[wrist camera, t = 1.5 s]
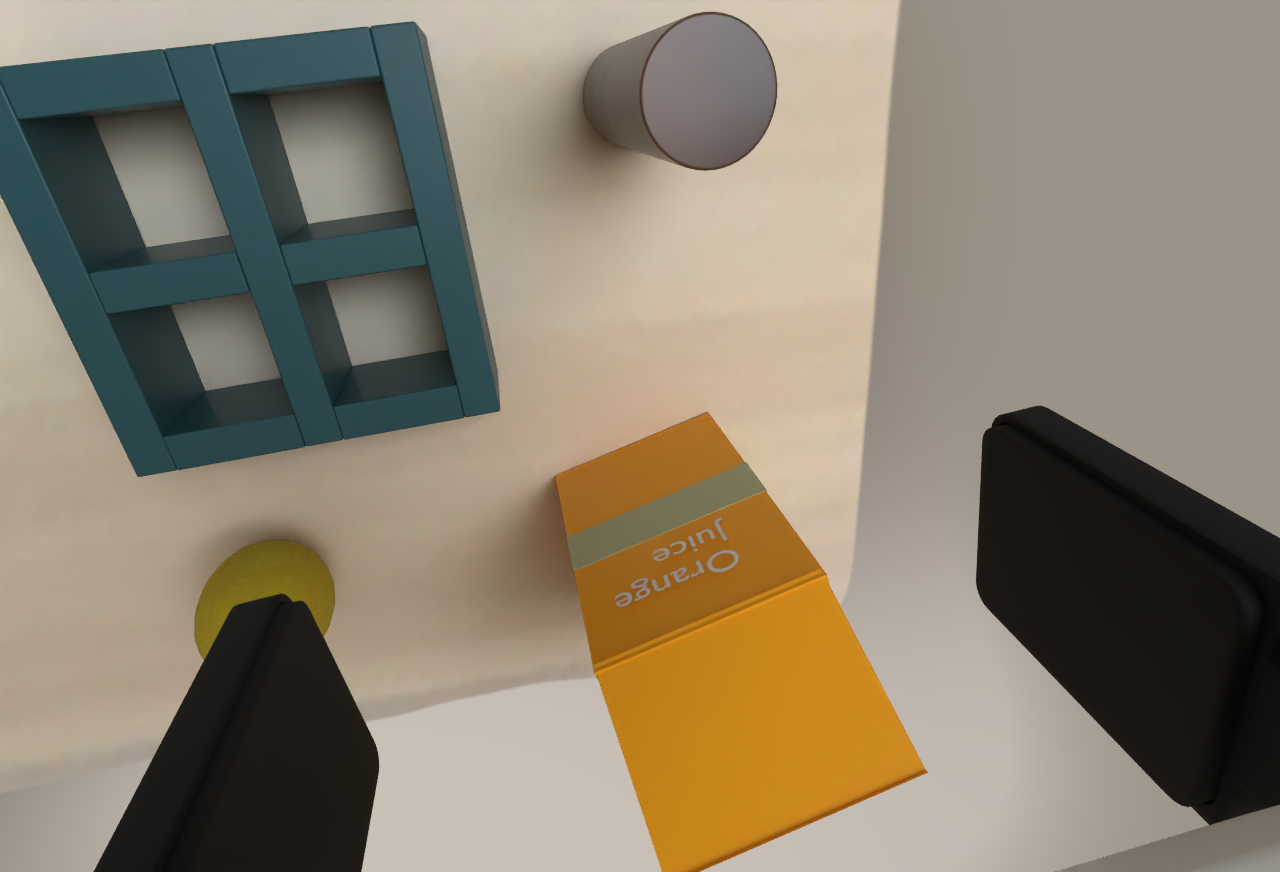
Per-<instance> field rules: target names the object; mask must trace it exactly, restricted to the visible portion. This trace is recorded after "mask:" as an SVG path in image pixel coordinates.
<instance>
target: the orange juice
mask: <svg viewBox="0 0 1280 872" xmlns="http://www.w3.org/2000/svg"><path fill="white" fill-rule="evenodd" d="M555 477H556V482H557V487H558V492H559V497H560V502H561V507H562V512H563V518H564V523H565V528H566V533H567V537H566V538H567V543H568V548H569V554H570V559H571V564H572V569H573V572H574V574H575V578H576V583H577V588H578V593H579V598H580V603H581V608H582V613H583V618H584V623H585V628H586V633H587V638H588V643H589V648H590V653H591V658H592V663H593V668H594V673H595V675H596V677H597V679H598V681H599V684H600V686H601V689H602V692H603V695H604V699H605V701H606V704H607V707H608V710H609V713H610V716H611V720H612V723H613V725H614V728H615V731H616V734H617V737H618V740H619V743H620V746H621V749H622V752H623V755H624V758H625V761H626V764H627V767H628V770H629V773H630V776H631V779H632V782H633V785H634V788H635V791H636V794H637V797H638V800H639V803H640V806H641V809H642V812H643V815H644V818H645V821H646V824H647V827H648V830H649V833H650V836H651V839H652V842H653V845H654V848H655V851H656V854H657V857H658V860H659V863H660V866H661V869H662V872H700V871H702V870H704V869H707V868H709V867H711V866H713V865H716V864H718V863H720V862H723V861H725V860H727V859H730V858H732V857H734V856H736V855H739V854H741V853H743V852H746V851H748V850H750V849H753V848H755V847H757V846H760V845H762V844H764V843H767V842H768V841H771V840H773V839H775V838H778V837H780V836H783V835H785V834H787V833H790V832H792V831H794V830H796V829H799V828H801V827H803V826H806V825H808V824H810V823H813V822H815V821H817V820H819V819H822V818H824V817H826V816H829V815H831V814H833V813H836V812H838V811H840V810H843V809H845V808H847V807H849V806H852V805H854V804H856V803H859V802H861V801H863V800H866V799H868V798H870V797H872V796H875V795H877V794H879V793H882V792H884V791H886V790H889V789H891V788H893V787H895V786H898V785H900V784H902V783H905V782H907V781H909V780H912V779H914V778H916V777H919V776H921V775H923V774H925V773H928V772H927V771H926V770H925V768H924V766H923V764H922V762H921V760H920V758H919V756H918V754H917V752H916V750H915V748H914V746H913V745H912V743H911V741H910V739H909V737H908V735H907V733H906V731H905V729H904V727H903V725H902V723H901V722H900V720H899V718H898V716H897V714H896V712H895V710H894V708H893V706H892V704H891V702H890V700H889V699H888V697H887V695H886V693H885V691H884V689H883V687H882V685H881V683H880V682H879V679H878V677H877V676H876V674H875V672H874V670H873V668H872V666H871V664H870V662H869V660H868V658H867V657H866V655H865V653H864V651H863V649H862V647H861V645H860V643H859V641H858V639H857V637H856V635H855V633H854V632H853V630H852V628H851V626H850V624H849V622H848V620H847V618H846V616H845V614H844V612H843V610H842V609H841V607H840V605H839V603H838V601H837V599H836V597H835V595H834V593H833V591H832V589H831V587H830V585H829V581H828V578H827V574H826V573H825V572H824V570H823V569H822V567H821V566H820V565H819V563H818V562H817V561H816V559H815V558H814V557H813V555H812V554H811V552H810V551H809V550H808V548H807V547H806V546H805V544H804V543H803V541H802V540H801V539H800V537H799V536H798V535H797V533H796V532H795V530H794V529H793V528H792V526H791V525H790V524H789V522H788V521H787V520H786V518H785V517H784V515H783V514H782V513H781V511H780V510H779V509H778V507H777V506H776V504H775V503H774V502H773V500H772V499H771V498H770V496H769V495H768V493H767V491H766V489H765V487H764V486H763V485H762V483H761V482H760V480H759V479H758V478H757V476H756V475H755V474H754V472H753V471H752V470H751V468H750V467H749V465H748V464H747V463H746V462H744V461H743V459H742V458H741V456H740V455H739V454H738V452H737V451H736V450H735V448H734V447H733V445H732V444H731V443H730V441H729V440H728V439H727V437H726V436H725V434H724V433H723V432H722V430H721V429H720V428H719V426H718V425H717V424H716V422H715V421H714V419H713V418H712V417H711V415H710V414H709V413H708V412H707V413H704V414H702V415H700V416H697V417H695V418H692V419H690V420H688V421H685V422H683V423H680V424H678V425H676V426H673V427H671V428H668V429H666V430H664V431H661V432H659V433H656V434H654V435H652V436H649V437H647V438H644V439H642V440H640V441H637V442H635V443H632V444H630V445H628V446H625V447H623V448H620V449H618V450H616V451H613V452H611V453H608V454H606V455H604V456H601V457H599V458H596V459H594V460H592V461H589V462H587V463H584V464H582V465H580V466H577V467H575V468H572V469H570V470H568V471H565V472H563V473H560V474H558V475H556V476H555Z"/></svg>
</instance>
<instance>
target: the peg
mask: <svg viewBox="0 0 1280 872" xmlns="http://www.w3.org/2000/svg"><path fill="white" fill-rule="evenodd" d="M583 97H584V105H585V110H586V113H587V116H588V118H589V120H590V122H591V124H592V125H593V127H594V128H595V130H596V131H597V132H598V133H599V134H600V135H601V136H602V137H603V138H605V139H606V140H608V141H610V142H611V143H614V144H616V145H619V146H622V147H625V148H628V149H631V150H634V151H637V152H640V153H644V154H647V155H650V156H653V157H656V158H659V159H662V160H665V161H668V162H671V163H674V164H677V165H680V166H683V167H686V168H690V169H695V170H704V171H707V170H716V169H721V168H724V167H727V166H730V165H732V164H734V163H736V162H738V161H739V160H741V159H742V158H743V157H745V156H746V155H747V154H748V153H750V152H751V151H752V150H753V149H754V148H755V146H756V145H757V144H758V143H759V142H760V140H761V139H762V137H763V136H764V134H765V132H766V131H767V129H768V127H769V125H770V122H771V119H772V117H773V113H774V109H775V105H776V98H777V78H776V71H775V66H774V63H773V60H772V57H771V54H770V52H769V50H768V48H767V46H766V45H765V43H764V41H763V40H762V38H761V37H760V36H759V35H758V34H757V32H756V31H755V30H754V29H752V28H751V27H750V26H749V25H748V24H746V23H745V22H743V21H742V20H740V19H738V18H736V17H734V16H732V15H728V14H725V13H719V12H702V13H697V14H693V15H690V16H687V17H685V18H682V19H680V20H677V21H675V22H672V23H670V24H667V25H665V26H662V27H660V28H657V29H655V30H652V31H650V32H647V33H645V34H642V35H640V36H637V37H635V38H632V39H630V40H627V41H625V42H622V43H620V44H617V45H615V46H612V47H610V48H609V49H607V50H605V51H604V52H603V53H601V54H600V55H599V56H598V57H597V58H596V60H595V61H594V62H593V64H592V65H591V67H590V69H589V71H588V73H587V76H586V79H585V84H584V93H583Z"/></svg>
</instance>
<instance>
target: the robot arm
mask: <svg viewBox="0 0 1280 872" xmlns="http://www.w3.org/2000/svg"><path fill="white" fill-rule="evenodd" d="M980 485H981V486H980V506H979V528H978V550H977V572H976V585H977V590H978V593H979V595H980V598H981V600H982V601H983V603H984V605H985V606H986V607H987V608H988V609H989V610H990V611H991V613H992V614H993V615H994V616H995V617H996V618H997V619H998V620H999V621H1000V622H1001V623H1002V624H1003V625H1004V626H1005V627H1006V628H1007V629H1008V630H1009V631H1010V632H1011V633H1012V634H1013V635H1014V636H1015V637H1016V638H1017V639H1018V641H1020V643H1021V644H1022V645H1023V646H1024V647H1025V648H1026V649H1027V650H1028V651H1029V652H1030V653H1031V654H1032V655H1033V656H1034V657H1035V658H1036V659H1037V660H1038V661H1039V662H1040V663H1041V664H1042V665H1043V667H1045V668H1046V670H1047V671H1048V672H1049V673H1050V674H1051V675H1052V676H1053V677H1054V678H1055V679H1056V680H1057V681H1058V682H1059V683H1060V684H1061V685H1062V686H1063V687H1064V688H1065V689H1066V690H1067V691H1068V692H1069V693H1070V695H1072V696H1073V698H1074V699H1075V700H1076V701H1077V702H1078V703H1079V704H1080V705H1081V706H1082V707H1083V708H1084V709H1085V710H1086V711H1087V712H1088V713H1089V714H1090V715H1091V716H1092V717H1093V718H1094V719H1095V720H1096V721H1097V722H1098V724H1099V725H1100V726H1102V728H1103V729H1104V730H1105V731H1106V732H1107V733H1108V734H1109V735H1110V736H1111V737H1112V738H1113V739H1114V740H1115V741H1116V742H1117V743H1118V744H1119V745H1120V746H1121V747H1122V748H1123V749H1124V751H1126V753H1127V754H1128V755H1129V756H1130V757H1131V758H1132V759H1133V760H1134V761H1135V762H1136V763H1137V764H1138V765H1139V766H1140V767H1141V768H1142V769H1143V770H1144V771H1145V772H1146V773H1147V774H1148V775H1149V776H1150V778H1152V780H1154V782H1155V783H1156V784H1157V785H1158V786H1159V787H1160V788H1161V789H1162V790H1163V791H1164V792H1165V793H1166V794H1167V795H1168V796H1169V797H1170V798H1171V799H1172V800H1174V801H1175V802H1177V803H1178V804H1180V805H1182V806H1186V807H1190V806H1191V807H1192V808H1193V809H1194V810H1195V811H1196V812H1197V813H1198V814H1199V815H1200V816H1201V817H1202V818H1203V819H1204V820H1205V821H1206V822H1207V823H1208V824H1209V826H1206V827H1202V828H1199V829H1196V830H1192V831H1189V832H1186V833H1182V834H1179V835H1176V836H1172V837H1169V838H1166V839H1162V840H1159V841H1156V842H1152V843H1149V844H1146V845H1143V846H1139V847H1136V848H1133V849H1129V850H1126V851H1123V852H1119V853H1116V854H1112V855H1109V856H1106V857H1102V858H1099V859H1096V860H1093V861H1089V862H1086V863H1083V864H1079V865H1076V866H1073V867H1069V868H1066V869H1063V870H1060V871H1056V872H1280V538H1279V537H1277V536H1275V535H1273V534H1272V533H1270V532H1268V531H1266V530H1264V529H1263V528H1261V527H1259V526H1257V525H1255V524H1254V523H1252V522H1250V521H1248V520H1247V519H1245V518H1243V517H1241V516H1239V515H1238V514H1236V513H1234V512H1232V511H1231V510H1229V509H1226V508H1225V507H1223V506H1222V505H1220V504H1218V503H1216V502H1214V501H1213V500H1211V499H1209V498H1207V497H1206V496H1203V495H1202V494H1200V493H1198V492H1197V491H1194V490H1193V489H1191V488H1189V487H1187V486H1186V485H1184V484H1182V483H1180V482H1179V481H1177V480H1175V479H1173V478H1172V477H1170V476H1168V475H1166V474H1164V473H1163V472H1161V471H1159V470H1157V469H1155V468H1154V467H1152V466H1150V465H1148V464H1147V463H1145V462H1143V461H1141V460H1139V459H1137V458H1136V457H1134V456H1132V455H1130V454H1129V453H1127V452H1125V451H1123V450H1122V449H1120V448H1118V447H1116V446H1114V445H1113V444H1110V443H1109V442H1107V441H1106V440H1104V439H1102V438H1100V437H1098V436H1097V435H1095V434H1093V433H1091V432H1089V431H1088V430H1086V429H1084V428H1082V427H1080V426H1079V425H1077V424H1075V423H1073V422H1072V421H1070V420H1068V419H1066V418H1064V417H1063V416H1061V415H1059V414H1057V413H1056V412H1054V411H1052V410H1050V409H1048V408H1046V407H1043V406H1034V407H1030V408H1027V409H1022V410H1018V411H1014V412H1010V413H1006V414H1002V415H999V416H998V417H997V418H995V420H994V422H993V423H992V427H991V428H989V429H988V430H986V431H985V433H984V435H983V441H982V462H981V484H980ZM378 773H379V757H378V751H377V747H376V744H375V742H374V740H373V738H372V736H371V734H370V731H369V730H368V727H367V725H366V723H365V721H364V719H363V717H362V715H361V713H360V711H359V709H358V707H357V705H356V703H355V701H354V699H353V697H352V695H351V693H350V691H349V689H348V686H347V684H346V682H345V680H344V678H343V676H342V674H341V672H340V670H339V668H338V666H337V664H336V662H335V660H334V658H333V656H332V654H331V652H330V650H329V648H328V646H327V643H326V641H325V639H324V637H323V635H322V633H321V631H320V629H319V627H318V625H317V623H316V621H315V619H314V617H313V615H312V613H311V611H310V609H309V607H308V606H307V604H306V603H305V602H304V601H300V600H299V601H295V602H293V601H292V600H291V598H289V597H288V596H287V595H286V594H282V593H281V594H277V595H273V596H269V597H265V598H261V599H257V600H253V601H249V602H245V603H241V604H238V605H235V606H234V607H233V608H232V609H231V610H230V612H229V614H228V616H227V618H226V620H225V621H224V623H223V625H222V627H221V629H220V631H219V633H218V635H217V637H216V639H215V641H214V643H213V644H212V646H211V648H210V650H209V652H208V654H207V656H206V658H205V660H204V662H203V664H202V665H201V667H200V669H199V671H198V673H197V675H196V677H195V679H194V681H193V683H192V685H191V687H190V688H189V690H188V692H187V694H186V696H185V698H184V700H183V702H182V704H181V706H180V708H179V710H178V711H177V713H176V715H175V717H174V719H173V721H172V723H171V725H170V727H169V729H168V731H167V732H166V734H165V736H164V738H163V740H162V742H161V744H160V746H159V748H158V750H157V752H156V754H155V755H154V757H153V759H152V761H151V763H150V765H149V767H148V769H147V771H146V773H145V775H144V776H143V778H142V780H141V782H140V784H139V786H138V788H137V790H136V792H135V794H134V796H133V798H132V799H131V801H130V803H129V805H128V807H127V809H126V811H125V813H124V815H123V817H122V819H121V820H120V822H119V824H118V826H117V828H116V830H115V832H114V834H113V836H112V838H111V840H110V842H109V844H108V846H107V847H106V849H105V851H104V853H103V855H102V857H101V859H100V861H99V863H98V864H97V867H96V868H95V870H94V872H361V870H362V865H363V859H364V853H365V848H366V842H367V836H368V831H369V825H370V819H371V814H372V808H373V801H374V796H375V790H376V785H377V779H378Z"/></svg>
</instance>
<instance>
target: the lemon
mask: <svg viewBox="0 0 1280 872" xmlns="http://www.w3.org/2000/svg"><path fill="white" fill-rule="evenodd" d="M281 593H282V594H286V595H287V596H288V597H289V598H291V600H292V601H293V602H295V601H299V600H300V601H304V602H305V603H306V604H307V606H308V607H309V609H310V611H311V613H312V615H313V617H314V619H315V621H316V623H317V625H318V627H319V629H320V631H321V633H322V635H323V637H324V635H325V633H326V631H327V629H328V627H329V625H330V621H331V618H332V614H333V610H334V605H335V592H334V582H333V579H332V577H331V574H330V572H329V569H328V567H327V566H326V564H325V563H324V562H323V561H322V559H321V558H320V557H319V556H318V555H317V554H316V553H314V552H313V551H312V550H310V549H309V548H307V547H305V546H302V545H300V544H298V543H294V542H290V541H286V540H269V541H263V542H258V543H254V544H252V545H249V546H247V547H244V548H242V549H240V550H239V551H237V552H236V553H234V554H233V555H232V556H230V557H229V558H227V559H226V560H225V561H224V562H223V563H222V564H221V565H220V566H219V567H218V568H217V570H216V571H215V572H214V573H213V575H212V576H211V577H210V578H209V580H208V581H207V583H206V584H205V587H204V589H203V591H202V594H201V597H200V599H199V602H198V605H197V608H196V613H195V642H196V644H197V647H198V650H199V653H200V655H201V657H202V658H203V659H204V660H205V658H206V656H207V654H208V652H209V650H210V648H211V646H212V644H213V643H214V641H215V639H216V637H217V635H218V633H219V631H220V629H221V627H222V625H223V623H224V621H225V620H226V618H227V616H228V614H229V612H230V610H231V609H232V608H233V607H234V606H235V605H238V604H241V603H245V602H249V601H253V600H257V599H261V598H265V597H269V596H273V595H277V594H281Z"/></svg>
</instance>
